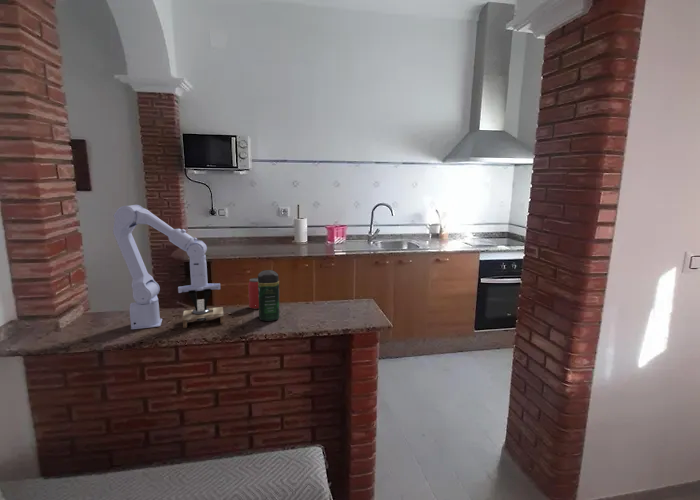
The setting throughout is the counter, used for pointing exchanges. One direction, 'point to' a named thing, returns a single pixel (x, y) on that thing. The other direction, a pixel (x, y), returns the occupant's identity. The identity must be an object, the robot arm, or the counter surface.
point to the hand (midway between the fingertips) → (201, 309)
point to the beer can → (253, 293)
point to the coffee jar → (268, 295)
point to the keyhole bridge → (203, 315)
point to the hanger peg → (201, 309)
